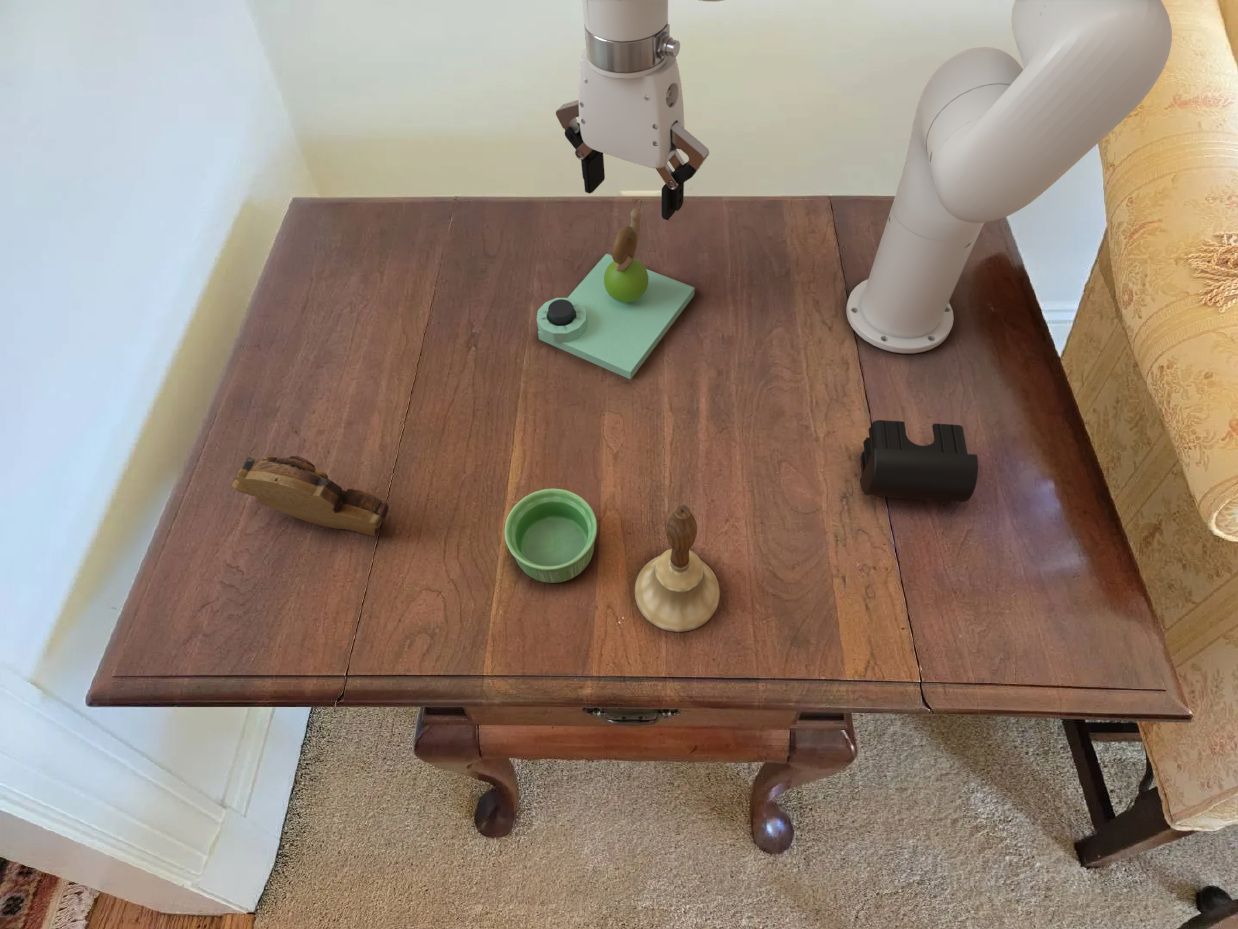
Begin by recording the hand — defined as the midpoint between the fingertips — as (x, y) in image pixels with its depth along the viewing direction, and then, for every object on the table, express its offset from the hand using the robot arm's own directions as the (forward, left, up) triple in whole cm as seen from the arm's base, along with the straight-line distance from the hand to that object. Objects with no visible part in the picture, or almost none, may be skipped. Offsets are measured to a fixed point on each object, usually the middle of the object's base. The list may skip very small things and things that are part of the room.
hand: (632, 198), depth 85 cm
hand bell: (+32, +24, -16) cm, 43 cm away
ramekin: (+34, +11, -16) cm, 39 cm away
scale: (+3, 0, -16) cm, 16 cm away
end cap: (+9, +39, -16) cm, 43 cm away
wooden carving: (+43, -12, -16) cm, 48 cm away
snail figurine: (0, -1, -14) cm, 14 cm away
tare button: (+9, -5, -13) cm, 16 cm away
